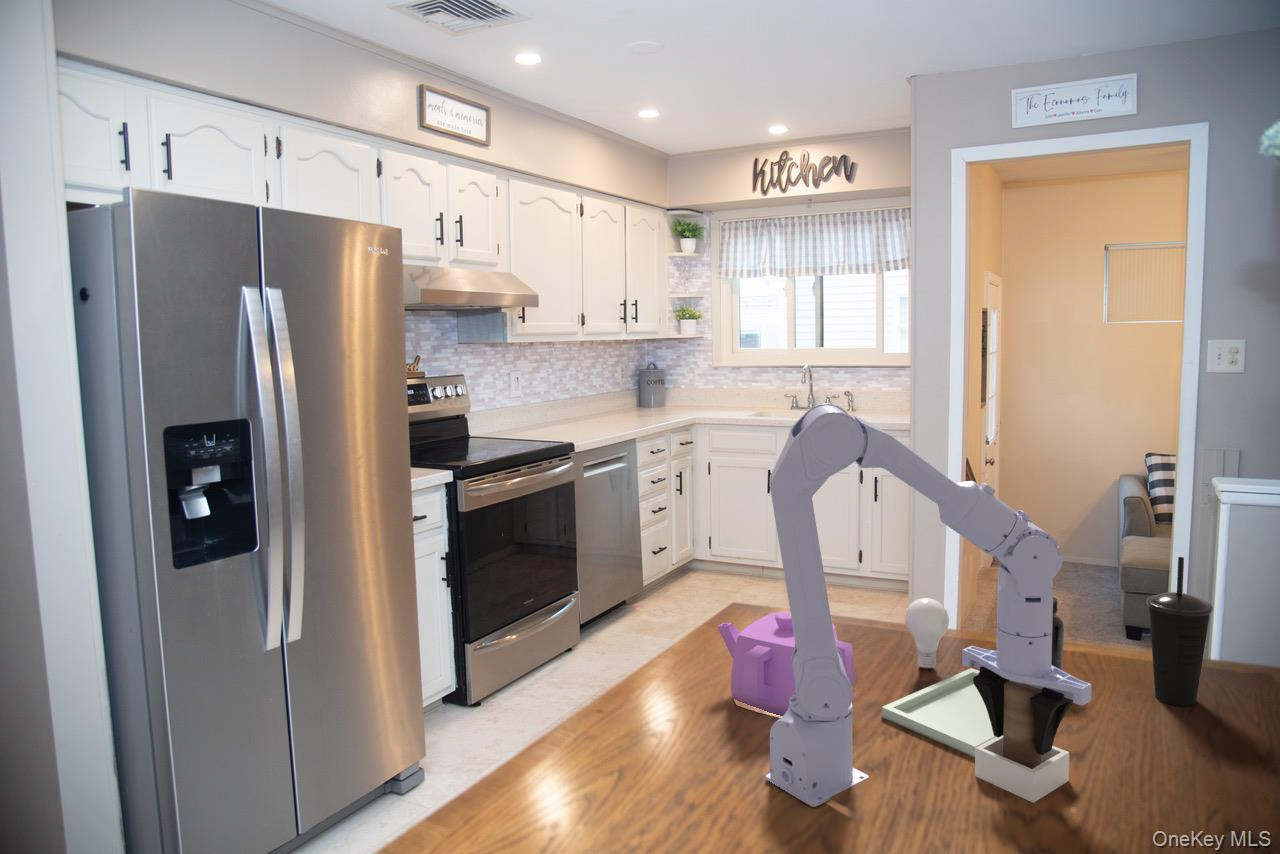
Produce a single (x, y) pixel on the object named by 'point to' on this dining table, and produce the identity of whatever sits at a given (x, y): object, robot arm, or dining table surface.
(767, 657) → the teakettle
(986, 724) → the tray
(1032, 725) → the walnut dowel
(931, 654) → the lightbulb
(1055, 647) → the supplement bottle
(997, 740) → the square cup
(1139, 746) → the dining table surface
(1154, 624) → the drinking cup
